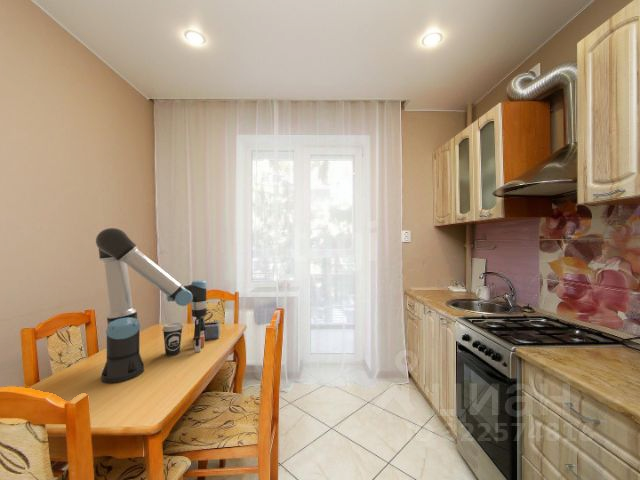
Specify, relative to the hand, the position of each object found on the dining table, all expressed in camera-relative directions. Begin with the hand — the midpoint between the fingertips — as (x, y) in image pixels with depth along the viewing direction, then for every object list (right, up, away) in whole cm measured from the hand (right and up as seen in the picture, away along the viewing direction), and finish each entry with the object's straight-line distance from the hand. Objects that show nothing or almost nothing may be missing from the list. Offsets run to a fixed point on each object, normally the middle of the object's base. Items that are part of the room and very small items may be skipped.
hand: (199, 346), depth 147 cm
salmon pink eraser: (0, 0, 0) cm, 0 cm away
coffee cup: (-10, 0, -8) cm, 13 cm away
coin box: (-1, 0, +16) cm, 16 cm away
